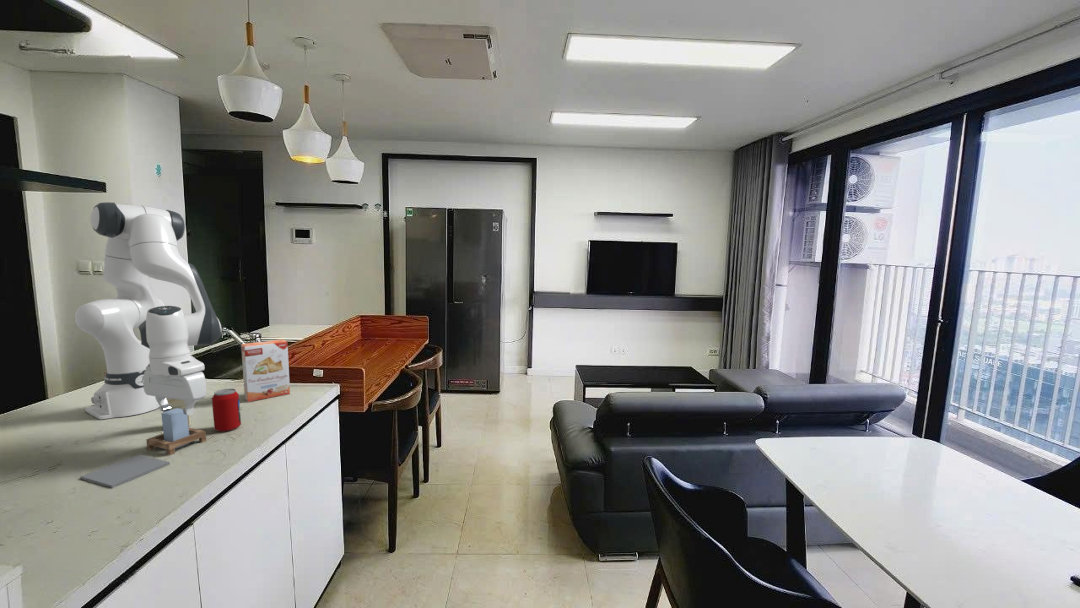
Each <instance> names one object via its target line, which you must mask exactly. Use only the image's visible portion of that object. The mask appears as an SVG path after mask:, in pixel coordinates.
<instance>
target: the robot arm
mask: <svg viewBox="0 0 1080 608" xmlns="http://www.w3.org/2000/svg"><path fill="white" fill-rule="evenodd" d="M89 219H90V224H91V227H92V229H93V231H94V232H96V234H98V235H100V236H103V237H107V240H106V243H105V244H106V245H105V250H104V259H103V260H104V261H103V275H102V276H103V279H104V281H106V282H107V283H109V284H110V285H112V286H114V287H115V289H116V294H117V295H116V297H112V298H104V299H97V300H94V301H90V302H88V303H85V304H82V305H80V306H79V307H78V308H77V309H76V311H75V314H74V320H75V324H76V326H77V327H78V328H79V329H80V330H81V331H82V332H85V333H87V334H89V335H91V336H92V337H93V338H95V340H96V341H97V342H98V343H99V345H100V346H101V348H102V351H103V354H104V360H105V365H106V372H104V373H103V374H104V382H103V383H104V384H103V385H102V386H101V387H99V389H98V390H96V391H95V392H94V393H93V396H92V397H91V399H90V400H91V403H92V404H93V405H89V406H87V407H85V408H84V412H85V413H87V414H89V415H91V416H93V417H94V418H96V419H98V420H106V419H112V418H120V417H121V418H123V417H129V416H130V417H131V416H135V415H141V414H144V413H148V412H151V411H154V410H157V409H158V408H159V411H161V412H163V411H169V410H170V409H171V408H170V404H168V402H167V399H166V398H171V399H178V400H184V403H185V404H186V406H185V409H183V414H184V415H191V416H192V415H193V414H194V413H195V411H194V407H195V405H196V401H200V400H202V399H204V398H205V397H206V395H207V381H206V377H205V374H204V372H203V371H205V364H204V362H202V361H200V360H198V359H196V358H195V357H194V356H193V355H192V352H191V350H190V347H192V346H210V345H213V344H214V343H215V342H217V341H218V340H219V339H220V338H221V336H222V330H223V329H222V324H221V322H220V319H219V318H218V317H217V315H216V312H215V310H214V308H213V306H212V303H211V301H210V298H209V295H208V293H207V291H206V289H205V285H204V283H203V280H202V278H201V277H200V274H199V272H198V270H197V268H196V267H195V266H194V264H192V263H190V262H187V261H186V260H185V259H184V258H183V257H182V255H181V254H180V250H179V244H178V241H179V240H180V239H182V238H183V236H184V234H185V230H186V225H185V220H184V217H183V216H182V215H181V214H180V213H178V212H176V211H173V210H169V209H162V208H158V207H153V206H147V205H137V204H136V205H135V204H128V203H127V204H125V203H115V202H99V203H97V204H96V205H94V207H93V209H92V211H91V213H90V217H89ZM150 278H151V279H154V280H158V281H162V282H166V283H167V282H168V283H171V284H175V285H178V286H180V287H182V288H184V289H185V290H186V291H187V292H188V294H189V297H190V300H191V303H192V305H193V307H194V310H195V312H194V313H192V312H191V313H184V310H183V309H182V307H179V306H175V305H174V306H173V305H165V304H164V301H163V300H162V299H161V298H160V297H157V295H156V294H155V293H154V291H153V289H152V285H151V280H150ZM136 328H138V329H139V333H140V339H139V338H138V337H136V335H135V333H134V329H136Z"/></svg>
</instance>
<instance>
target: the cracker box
mask: <svg viewBox="0 0 1080 608" xmlns="http://www.w3.org/2000/svg"><path fill="white" fill-rule="evenodd" d="M288 345H289V344H288V341H286V340H285V339H275V340H267V341H258V342H251V343H249V342H248V343H242V344H241V345H240V347H241V360H242V361H241V362H242V372H243V373H242V378H243V390H244V399H245V400H246V401H247V402H249V403H251V402H254V401H259V400H265V399H269V398H276V397H280V396H285V395H290V394H291V389H290V388H291V387H290V385H291V384H290V367H289V350H288V349H289V346H288Z"/></svg>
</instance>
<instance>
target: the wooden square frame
mask: <svg viewBox="0 0 1080 608" xmlns="http://www.w3.org/2000/svg"><path fill="white" fill-rule="evenodd" d="M188 428H189V436H186V437H184V438H181V439H178V440H176V441H173V442H168V441H164V434H163V433H160V434H157V435H155V436H152V437H149V438H146V439H145V441H146V448H147V449H146V450H147V451H152V450H154V449H156V448H160V449H163V450H164V449H165V450H166V455H168V456H172V455H174V454H175V453H176V449H175V448H176V447H179V446H181V445H184V444H186V443H189V442H190V443H191V442H194V441H196V440H198V442H199V443H204V442H207V435H206V434H207V432H206V430H202V429H198V428H197V429H196V428H193V427H188ZM179 448H180V447H179Z"/></svg>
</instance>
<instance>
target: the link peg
mask: <svg viewBox="0 0 1080 608" xmlns="http://www.w3.org/2000/svg"><path fill="white" fill-rule="evenodd" d="M160 414H161V424H162V432H163V433H162V434H164V441H168V442H173V441H176V440H178V439H181V438H184V437H186V436H189V428H190V427H188V417H187V415H184V414H183V409H179V408H176V409H173V410H170V411H167V412H163V411H162V412H161V413H160ZM189 444H191V442H189V443H186V444H184V445H181V446H179V447H176V448H175V450H178V449H180V448H182V447H184V446H187V445H189Z"/></svg>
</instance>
